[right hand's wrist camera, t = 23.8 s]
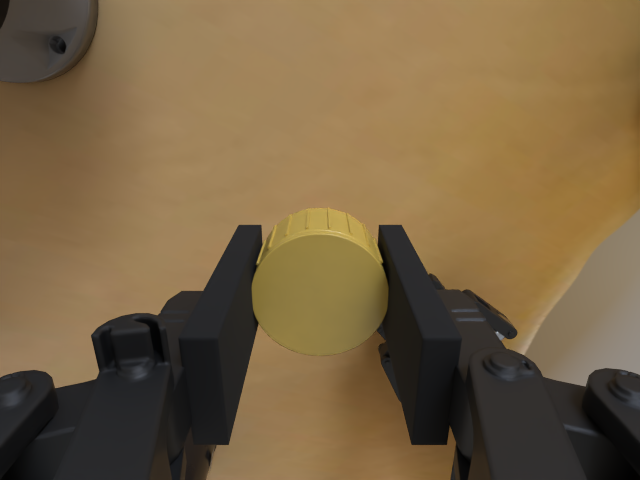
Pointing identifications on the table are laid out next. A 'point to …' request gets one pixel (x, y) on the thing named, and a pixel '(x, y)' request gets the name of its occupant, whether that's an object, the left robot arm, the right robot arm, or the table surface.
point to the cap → (320, 283)
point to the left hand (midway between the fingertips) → (397, 294)
